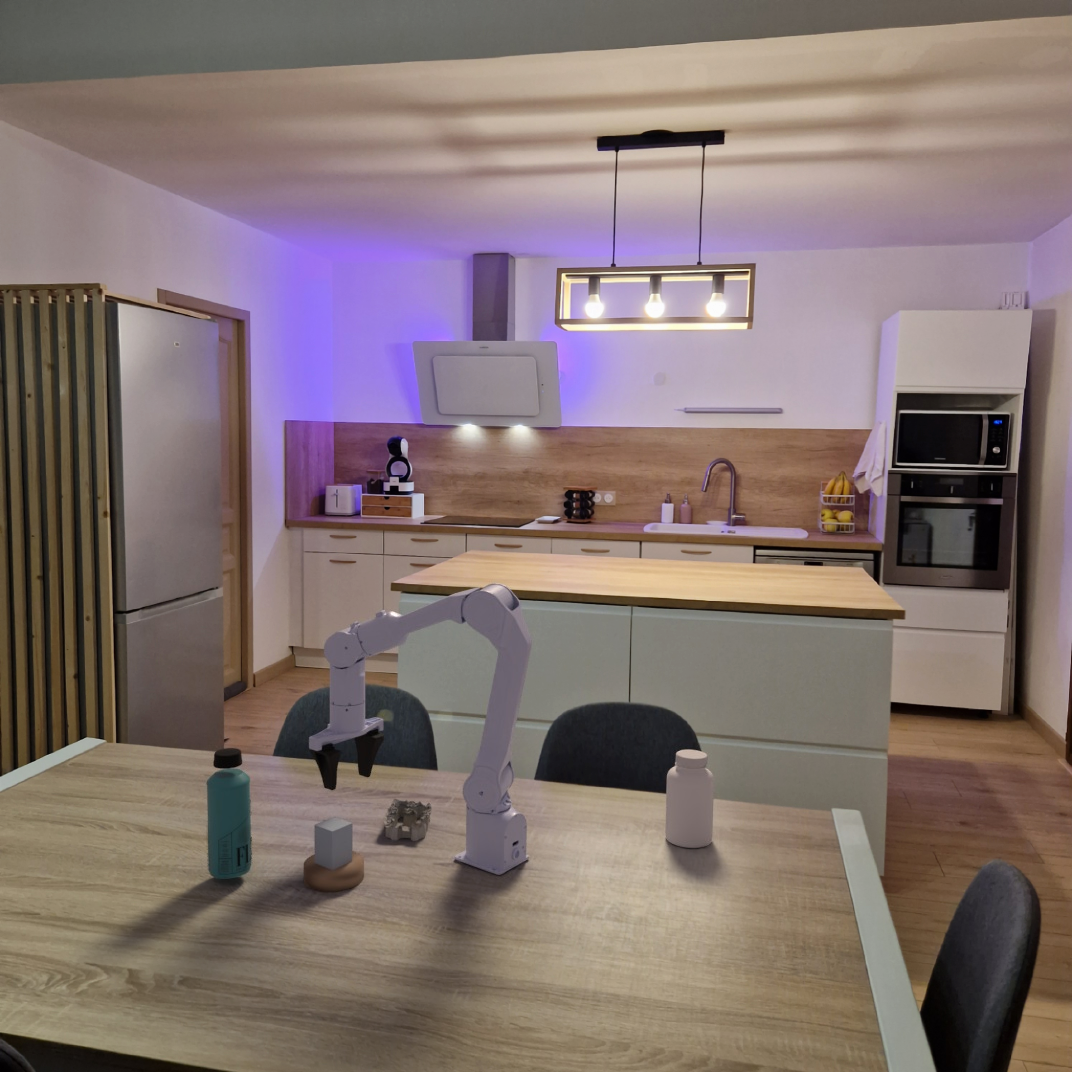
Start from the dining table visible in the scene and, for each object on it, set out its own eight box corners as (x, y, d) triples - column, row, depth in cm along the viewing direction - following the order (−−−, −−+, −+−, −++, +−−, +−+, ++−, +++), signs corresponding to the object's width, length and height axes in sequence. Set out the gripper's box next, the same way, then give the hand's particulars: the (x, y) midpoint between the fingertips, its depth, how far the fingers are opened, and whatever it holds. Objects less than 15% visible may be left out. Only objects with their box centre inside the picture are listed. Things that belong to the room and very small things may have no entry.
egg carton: (424, 843, 156) (424, 820, 155) (379, 841, 156) (379, 818, 156) (435, 818, 166) (435, 796, 166) (393, 816, 167) (393, 794, 166)
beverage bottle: (238, 891, 137) (237, 759, 135) (198, 886, 138) (196, 755, 137) (260, 872, 143) (259, 745, 142) (221, 867, 145) (219, 742, 143)
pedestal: (376, 875, 143) (376, 860, 143) (331, 897, 136) (331, 881, 135) (336, 859, 148) (336, 844, 148) (291, 880, 141) (291, 864, 141)
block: (352, 861, 142) (352, 823, 142) (332, 870, 139) (332, 831, 138) (334, 854, 145) (334, 816, 144) (314, 862, 141) (314, 824, 141)
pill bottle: (710, 831, 162) (713, 747, 161) (714, 851, 154) (717, 763, 153) (664, 828, 163) (666, 745, 162) (665, 848, 155) (668, 760, 154)
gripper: (363, 688, 161) (363, 765, 162) (296, 706, 149) (296, 788, 150) (392, 695, 157) (392, 774, 158) (325, 714, 145) (326, 798, 146)
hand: (347, 782), depth 154 cm, fingers open, 7 cm apart
